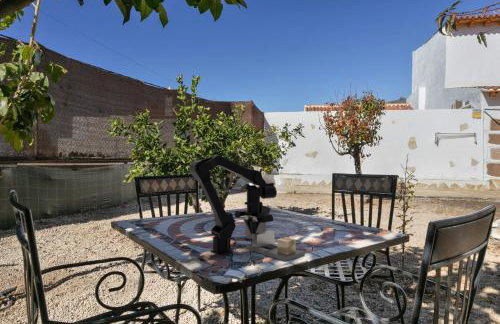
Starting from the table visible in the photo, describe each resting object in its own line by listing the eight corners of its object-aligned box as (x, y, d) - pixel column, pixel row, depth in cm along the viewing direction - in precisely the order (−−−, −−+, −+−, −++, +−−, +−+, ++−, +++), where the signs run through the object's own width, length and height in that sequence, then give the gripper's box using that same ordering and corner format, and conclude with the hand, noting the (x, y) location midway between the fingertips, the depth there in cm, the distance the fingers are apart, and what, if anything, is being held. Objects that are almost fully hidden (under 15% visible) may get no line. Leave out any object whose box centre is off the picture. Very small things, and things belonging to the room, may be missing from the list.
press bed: (285, 261, 133) (285, 256, 133) (245, 249, 150) (245, 245, 150) (304, 255, 140) (304, 251, 140) (264, 244, 157) (264, 240, 157)
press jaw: (257, 247, 145) (256, 235, 145) (252, 246, 147) (252, 233, 147) (274, 243, 152) (274, 231, 152) (269, 241, 154) (269, 230, 154)
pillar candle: (255, 234, 178) (255, 203, 177) (270, 237, 171) (269, 205, 170) (241, 237, 171) (240, 206, 171) (255, 241, 164) (255, 208, 164)
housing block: (286, 254, 136) (286, 241, 136) (277, 252, 140) (277, 239, 140) (295, 252, 139) (295, 239, 139) (286, 249, 143) (286, 237, 143)
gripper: (282, 200, 152) (282, 236, 152) (252, 196, 166) (252, 229, 166) (263, 202, 144) (263, 241, 145) (234, 198, 158) (234, 233, 159)
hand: (253, 235), depth 154 cm, fingers closed
